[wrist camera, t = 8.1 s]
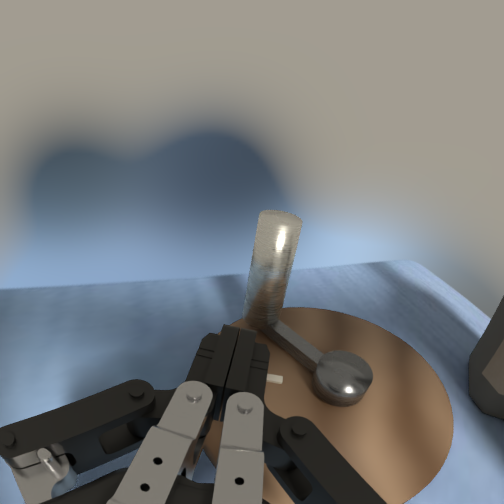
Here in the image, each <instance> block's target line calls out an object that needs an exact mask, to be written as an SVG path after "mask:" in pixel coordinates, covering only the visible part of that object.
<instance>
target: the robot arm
mask: <svg viewBox="0 0 504 504" xmlns="http://www.w3.org/2000/svg"><path fill="white" fill-rule="evenodd" d="M239 331H240V334H239ZM256 334H257V331H254V330H249V329H245V328H241V330H240V328H239V327H235V326H230V325H225V324H224V325H223V328H222V331H221V333H220V335H218V334H213V333H209V334H208V335H207V336H205V337H204V338H203V339H202V341H201V343H200V346H199V349H198V351H197V353H196V356H195V358H194V361H193V363H192V366H191V368H190V371H189V373H188V376H187V378H186V380H185V382H184V383H182V384H181V385H179V386H178V388H176V389H172V390H154V388H153V387H152V386H151V385H150V384H149V383H148V382H146V381H143V380H138V379H135V380H129V381H127V382H124V383H122V384H119V385H117V386H114V387H112V388H109V389H107V390H104V391H102V392H99V393H97V394H94V395H92V396H89V397H86V398H84V399H81V400H78V401H76V402H73V403H70V404H68V405H65V406H62V407H59V408H57V409H54V410H51V411H48V412H45V413H42V414H40V415H37V416H34V417H31V418H28V419H25V420H22V421H19V422H16V423H13V424H9V425H6V426H3V427H1V428H0V455H1V457H2V458H3V459H4V460H5V462H6V463H7V464H8V465H9V466H10V467H11V469H12V472H13V475H14V477H15V480H16V482H17V485H18V487H19V489H20V492H21V494H22V496H23V498H24V501H25V503H26V504H271V503H269V502H268V501H266V500H265V499H263V498H262V492H263V473H264V463H266V466H267V468H268V469H269V471H270V472H271V473H272V475H273V476H274V477H275V479H276V480H277V481H278V483H279V484H280V485H281V487H282V488H283V489H284V491H285V492H286V493H287V495H288V496H289V497H290V498H291V500H292V501H293V502H294V503H295V504H387V503H386V502H385V501H384V500H383V499H382V498H381V497H380V496H379V494H378V493H377V492H376V491H375V490H374V489H373V488H372V487H371V486H370V485H369V484H368V483H367V482H366V481H365V480H364V479H363V478H362V477H361V476H360V474H359V473H358V472H357V471H356V470H355V469H354V468H353V467H352V466H351V465H350V464H349V463H348V462H347V460H346V459H345V458H344V457H343V456H342V455H341V454H340V453H339V452H338V450H337V449H336V448H335V447H334V446H333V445H332V444H331V443H330V442H329V440H328V439H327V438H326V437H325V436H324V435H323V434H322V432H321V431H320V430H319V429H318V428H317V427H316V426H315V424H314V423H313V422H312V421H310V420H309V419H307V418H305V417H301V416H292V417H289V418H287V419H285V418H283V417H280V416H278V415H276V414H274V413H273V412H271V411H270V410H269V409H268V407H267V406H266V404H265V401H264V394H265V387H266V380H267V373H268V366H269V358H270V352H269V349H268V347H267V345H266V344H261V343H256V342H255V339H256ZM238 337H239V338H238ZM221 409H222V411H221ZM220 413H221V418H220V421H221V422H223V428H222V433H221V439H220V446H219V452H218V459H217V466H216V472H215V479H214V483H196V482H194V481H192V478H193V474H194V470H195V467H196V465H197V462H198V460H199V457H200V454H201V452H202V449H203V447H204V444H205V442H206V439H207V437H208V433H209V431H210V429H211V425H212V421H213V420H216V421H218V420H219V416H220ZM137 448H139V450H138V452H137V453H136V455H135V457H134V459H133V461H132V463H131V465H130V466H129V467H127V468H122V469H119V470H116V471H113V472H111V473H109V474H107V475H105V476H103V477H100V478H98V479H96V480H94V481H92V482H90V483H87V484H85V485H83V486H81V487H78V488H76V489H74V490H72V491H69V492H67V491H68V490H70V489H72V488H73V487H74V486H75V484H76V482H77V475H78V474H80V473H83V472H85V471H88V470H90V469H93V468H95V467H97V466H100V465H102V464H104V463H107V462H109V461H111V460H114V459H116V458H118V457H120V456H122V455H125V454H127V453H129V452H131V451H133V450H135V449H137ZM66 492H67V493H66Z"/></svg>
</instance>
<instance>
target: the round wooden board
mask: <svg viewBox="0 0 504 504" xmlns="http://www.w3.org/2000/svg"><path fill="white" fill-rule="evenodd" d="M279 320H280V321H281V322H283V323H284V324H285V325H286V326H288V327H289V328H290V329H292V330H293V331H294V332H296V333H297V334H298V335H299V336H301V337H302V338H303V339H305V340H306V341H307V342H309V343H310V344H311V345H313V346H314V347H315V348H316V349H318V350H319V351H320V352H322V353H323V354H325V353H327V352H330V351H335V350H341V351H347V352H351V353H354V354H356V355H358V356H359V357H361V358H362V359H364V360H365V361H366V362H367V363H368V364H369V366H370V367H371V369H372V372H373V381H372V383H371V385H370V386H369V388H368V390H367V392H366V393H365V395H364V397H363V398H362V400H361V401H360V402H359V403H357V404H355V405H353V406H349V407H338V406H334V405H331V404H328V403H326V402H325V401H323V400H322V399H321V398H319V397H318V396H317V394H316V393H315V392H314V390H313V387H312V376H313V374H314V373H312V372H311V371H310V370H309V369H307V368H306V367H305V366H304V365H302V364H301V363H300V362H299V361H297V360H296V359H295V358H294V357H292V356H291V355H290V354H289V353H288V352H286V351H285V350H284V349H283V348H282V347H280V346H279V345H278V344H277V343H275V342H274V341H273V340H272V339H271V338H269V337H268V336H267V335H266V334H265V333H264V332H262V331H261V330H260V329H257V328H254V327H252V326H250V325H248V324H247V323H246V322H245V321H244V320H243V318H242V319H240V320H238V321H236V322H234V323H232V324H231V325H230V326H235V327H239V328H240V330H241V328H245V329H249V330H254V331H257V334H256V339H255V342H256V343H261V344H266V345H267V347H268V349H269V352H270V358H269V366H268V373H267V380H266V387H265V394H264V401H265V404H266V406H267V407H268V409H269V410H270V411H271V412H273V413H274V414H276V415H278V416H280V417H283V418H285V419H287V418H289V417H292V416H301V417H305V418H307V419H309V420H310V421H312V422H313V423H314V424H315V426H316V427H317V428H318V429H319V430H320V431H321V432H322V434H323V435H324V436H325V437H326V438H327V439H328V440H329V442H330V443H331V444H332V445H333V446H334V447H335V448H336V449H337V450H338V452H339V453H340V454H341V455H342V456H343V457H344V458H345V459H346V460H347V462H348V463H349V464H350V465H351V466H352V467H353V468H354V469H355V470H356V471H357V472H358V473H359V474H360V476H361V477H362V478H363V479H364V480H365V481H366V482H367V483H368V484H369V485H370V486H371V487H372V488H373V489H374V490H375V491H376V492H377V493H378V494H379V496H380V497H381V498H382V499H383V500H384V501H385V502H386V503H387V504H404V503H405V502H407V501H408V500H410V499H411V498H412V497H414V496H415V495H416V494H418V493H419V492H420V491H421V490H422V489H423V488H425V487H426V486H427V485H428V484H429V483H430V482H431V481H432V480H433V478H434V477H435V476H436V475H437V473H438V472H439V471H440V469H441V467H442V466H443V464H444V462H445V460H446V458H447V456H448V453H449V450H450V447H451V443H452V437H453V414H452V407H451V404H450V401H449V397H448V395H447V392H446V390H445V388H444V386H443V384H442V382H441V380H440V379H439V377H438V375H437V374H436V373H435V371H434V370H433V369H432V367H431V366H430V365H429V364H428V362H427V361H426V360H425V359H424V358H423V357H422V356H421V355H420V354H419V353H418V352H417V351H415V350H414V349H413V348H412V347H411V346H410V345H408V344H407V343H406V342H404V341H403V340H402V339H400V338H399V337H397V336H395V335H394V334H392V333H391V332H389V331H387V330H385V329H383V328H381V327H379V326H377V325H375V324H373V323H370V322H368V321H366V320H363V319H360V318H357V317H355V316H351V315H348V314H344V313H340V312H336V311H331V310H325V309H318V308H305V307H289V308H282V310H281V314H280V318H279ZM220 333H221V332H219V333H218V335H220ZM239 334H240V331H239ZM238 338H239V337H238ZM221 411H222V409H221ZM220 418H221V413H220V416H219V420H218V421H216V420H213V421H212V425H211V429H210V431H209V433H208V437H207V439H206V442H205V444H204V447H203V449H204V451H205V453H206V455H207V456H208V458H209V459H210V461H211V462H212V464H213V465H214V467H215V468H216V466H217V459H218V452H219V446H220V439H221V433H222V428H223V422H221V421H220ZM262 498H263V499H265V500H266V501H268V502H269V503H271V504H295V503H294V502H293V501H292V500H291V498H290V497H289V496H288V495H287V493H286V492H285V491H284V489H283V488H282V487H281V485H280V484H279V483H278V481H277V480H276V479H275V477H274V476H273V475H272V473H271V472H270V471H269V469H268V468H267V466H266V463H264V473H263V492H262Z"/></svg>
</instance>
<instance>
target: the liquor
mask: <svg viewBox="0 0 504 504" xmlns="http://www.w3.org/2000/svg"><path fill="white" fill-rule="evenodd" d="M469 396H470V397H471V398H472V399H473V401H474V402H475V403H476V405H477V406H478V407H479V408H480V410H481V411H482V412H483V413H485V414H488V415H491V416H494V417H497V418H500V419H503V420H504V296H503V298H502V300H501V302H500V304H499V306H498V308H497V310H496V312H495V314H494V315H493V317H492V319H491V321H490V323H489V325H488V326H487V328H486V330H485V332H484V333H483V335H482V337H481V338H480V340H479V342H478V343H477V345H476V347H475V348H474V350H473V352H472V353H471V355H470V359H469Z"/></svg>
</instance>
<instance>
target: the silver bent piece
mask: <svg viewBox="0 0 504 504" xmlns="http://www.w3.org/2000/svg"><path fill="white" fill-rule="evenodd" d="M301 226H302V220H301V219H300V218H299V217H297V216H295V215H293V214H291V213H288V212H283V211H278V210H265V211H262V212H260V214H259V220H258V226H257V231H256V237H255V243H254V249H253V255H252V261H251V266H250V272H249V278H248V284H247V290H246V295H245V301H244V307H243V313H242V318H243V320H244V321H245V322H246V323H247V324H248V325H250V326H252V327H254V328H257V329H260V330H261V331H262V332H264V333H265V334H266V335H267V336H268V337H269V338H271V339H272V340H273V341H274V342H275V343H277V344H278V345H279V346H280V347H282V348H283V349H284V350H285V351H286V352H288V353H289V354H290V355H291V356H292V357H294V358H295V359H296V360H297V361H299V362H300V363H301V364H302V365H304V366H305V367H306V368H307V369H309V370H310V371H311V372H312V373H314V374H313V376H312V387H313V390H314V392H315V393H316V394H317V396H318V397H319V398H321V399H322V400H323V401H325V402H326V403H328V404H331V405H334V406H338V407H349V406H353V405H355V404H357V403H359V402H360V401H361V400H362V398H363V397H364V395H365V393H366V392H367V390H368V388H369V386H370V385H371V383H372V381H373V372H372V369H371V367H370V366H369V364H368V363H367V362H366V361H365V360H364V359H362V358H361V357H359V356H358V355H356V354H354V353H351V352H347V351H341V350H335V351H330V352H327V353H325V354H323V353H322V352H320V351H319V350H318V349H316V348H315V347H314V346H313V345H311V344H310V343H309V342H307V341H306V340H305V339H303V338H302V337H301V336H299V335H298V334H297V333H296V332H294V331H293V330H292V329H290V328H289V327H288V326H286V325H285V324H284V323H283V322H281V321H280V320H279V318H280V314H281V310H282V306H283V302H284V298H285V294H286V290H287V286H288V282H289V278H290V274H291V269H292V265H293V261H294V257H295V252H296V248H297V244H298V239H299V235H300V230H301Z"/></svg>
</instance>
